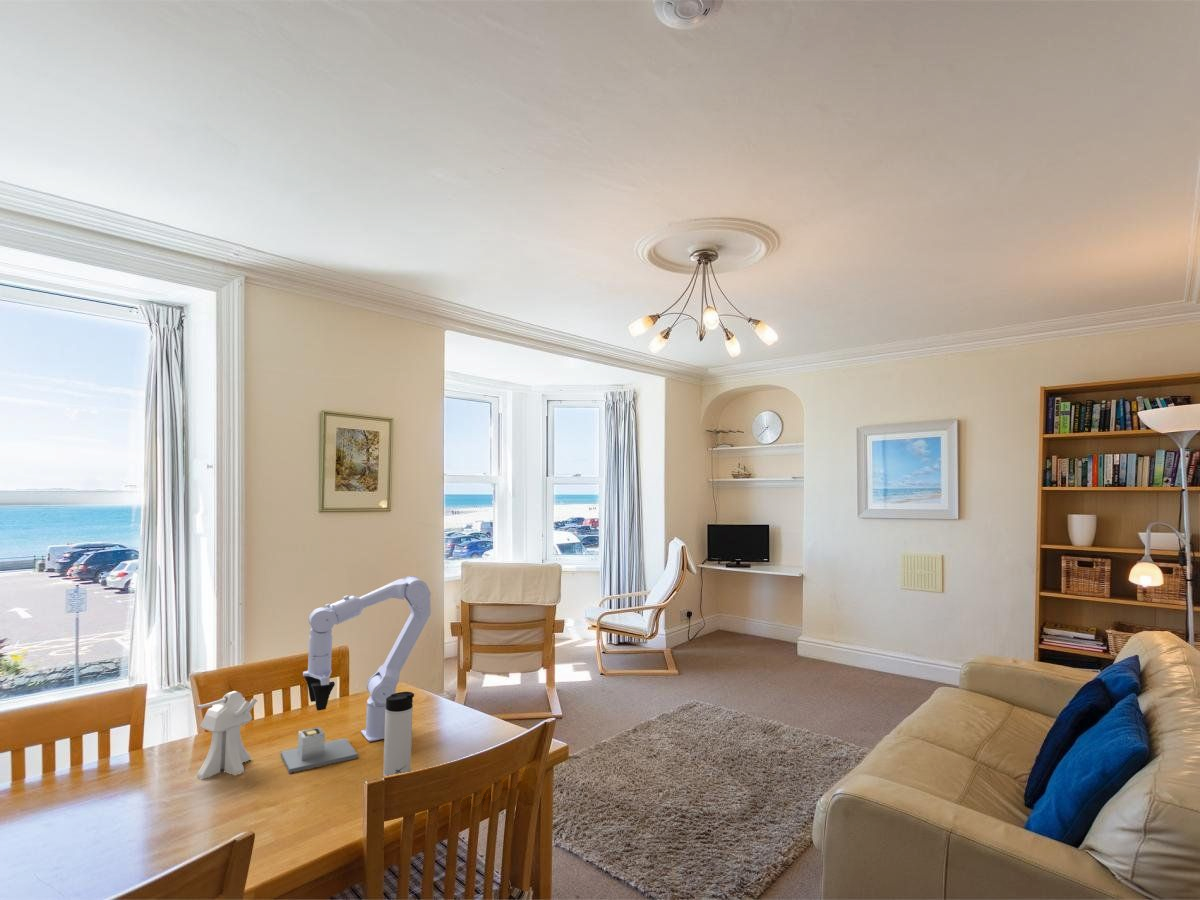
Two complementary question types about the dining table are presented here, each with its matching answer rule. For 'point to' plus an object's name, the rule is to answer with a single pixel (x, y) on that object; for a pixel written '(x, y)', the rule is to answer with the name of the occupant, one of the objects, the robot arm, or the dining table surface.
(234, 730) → the white mech figurine
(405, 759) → the travel mug
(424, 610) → the robot arm
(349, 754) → the board
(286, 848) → the dining table surface
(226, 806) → the dining table surface
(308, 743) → the block
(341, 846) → the dining table surface
